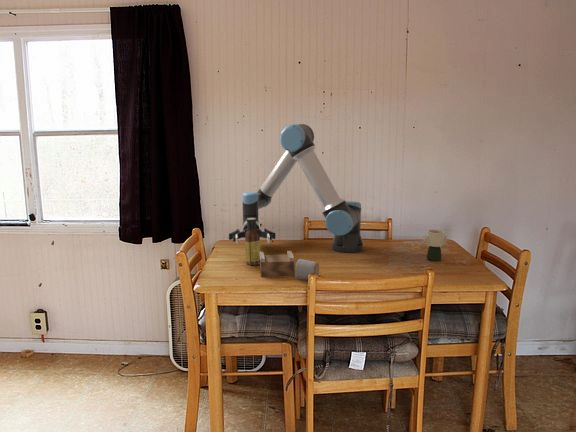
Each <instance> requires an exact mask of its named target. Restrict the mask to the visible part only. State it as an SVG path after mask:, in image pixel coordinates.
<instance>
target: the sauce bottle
mask: <svg viewBox="0 0 576 432" xmlns="http://www.w3.org/2000/svg"><path fill="white" fill-rule="evenodd" d="M244 244H245V261H246V264H247V265H249V266H257V265H260V252H261V237H259V234H258V232H257V229H256V218H247V231H246V234H245V240H244Z"/></svg>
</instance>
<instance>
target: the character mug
mask: <svg viewBox="0 0 576 432" xmlns="http://www.w3.org/2000/svg"><path fill="white" fill-rule="evenodd" d="M422 242H423V243H424V244H426V245H427V246H428V249H427V253H426V259H428V260H430V259H431V260H430V261H435V260H437V261H441V260H442V248H441V247H443V246H444V244H445V243H447V242H448V235H447V234H445V231H444V230H441V229H428V230H427V231H426V235H424V236H423V241H422Z"/></svg>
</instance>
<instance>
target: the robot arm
mask: <svg viewBox="0 0 576 432" xmlns="http://www.w3.org/2000/svg"><path fill="white" fill-rule="evenodd" d="M314 140H315V133H314V130H313V129H312V128H311V127H310V126H309V125H307V124H304V123H299V124H297V123H292V124H289V125H287V126H285V127H284V128H283V129H282V131H281V132H280V135H279V143H280V145H281V147H282V148H283V149H284V150H285V151H284V152H283V154H282V155H281V156H280V158H279V159H278V161H277V163H276V164H275V166H273V168H272V170H271V171H270V172H269V174H268V176H267V177H266V179H265V180H264V181H263V183H262V185H260V188H259V189H258V191H245V192H243V193H242V199H241V201H242V203H241V204H242V230H241V229H239V228H237V229H236V230H234V231H232V232H230V233H228V240H229V241H231V240H232V242H235V245H238V244H239V242H238V240H240V239H244V238H245V234H246V231H247V218H256V229H257V232H258V234H259V238H264V239H267V243H268V244H270V243H271V241H272V240H275V239H276V232H274V231H272V230H269V229H267V228H264V229H263V230H262V229H260V224H259V210H260V209H262V208H266V207H267V206H269V205H270V203H271V202H272V198H273V196H274V195H275V194H276V192H277V191H278V189H279V188H280V186H281V185H282V184H283V182H284V181H285V180H286V178H287V176H288V175H289V174H290V172H291V171H292V169H293V168H294V166H295V165H296V164H297V162H298V165H299V166H300V168H301V169H302V172H303V173H304V175H305V177H306V179H307V180H308V182H309V185H310V186H311V188H312V190H313V192H314V193H315V195H316V197H317V199H318V201H319V202H320V204H321V206H322V210H321V213H322V215H323V217H324V218H325V222H324V223H325V226H326V227H325V228H326V229H327V230H328V232H329V233H331V234H333V235H334V237H333V239H332V241H331V249H332V250H333V251H335V252H340V253H358V252H362V251H363V250H364V241H363V238H362V235H361V224H362V223H361V221H362V204H361V202H359V201H352V200H351V201H350V200H345V199H343V198H341V197H340V196H339V194H338V191H337V190H336V188H335V186H334V185H333V183H332V181H331V179H330V178H329V175H328V174H327V171H326V170H325V169H324V167H323V165H322V162H320V158H318V156H317V154H316V152H315V149H316V145H315V143H314Z"/></svg>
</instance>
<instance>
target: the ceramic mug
mask: <svg viewBox="0 0 576 432" xmlns="http://www.w3.org/2000/svg"><path fill="white" fill-rule="evenodd" d="M294 270H295V271H294V276H295V278H296V279H299V280H307V279H308V275H309V274H310V273H314V274H316V275H317V276H318V277H319V274H320V265H319V263H318V262H316V261H312V260H307V259H301V258H299V259H298V260H297V261H296V263H295V267H294Z"/></svg>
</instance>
